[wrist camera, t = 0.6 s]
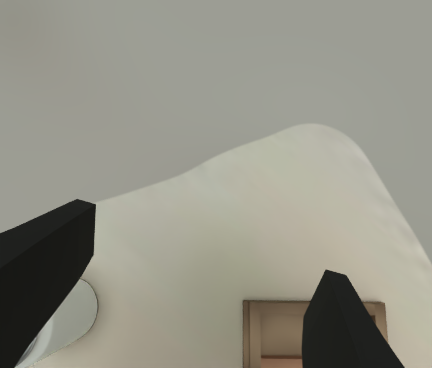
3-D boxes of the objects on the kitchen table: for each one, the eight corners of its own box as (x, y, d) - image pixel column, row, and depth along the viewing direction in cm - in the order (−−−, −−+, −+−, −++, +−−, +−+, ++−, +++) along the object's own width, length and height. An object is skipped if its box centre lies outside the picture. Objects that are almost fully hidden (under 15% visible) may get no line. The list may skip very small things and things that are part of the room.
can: (111, 296, 38) (62, 313, 26) (75, 354, 37) (7, 399, 25) (60, 264, 38) (-11, 266, 27) (23, 320, 37) (-67, 348, 26)
